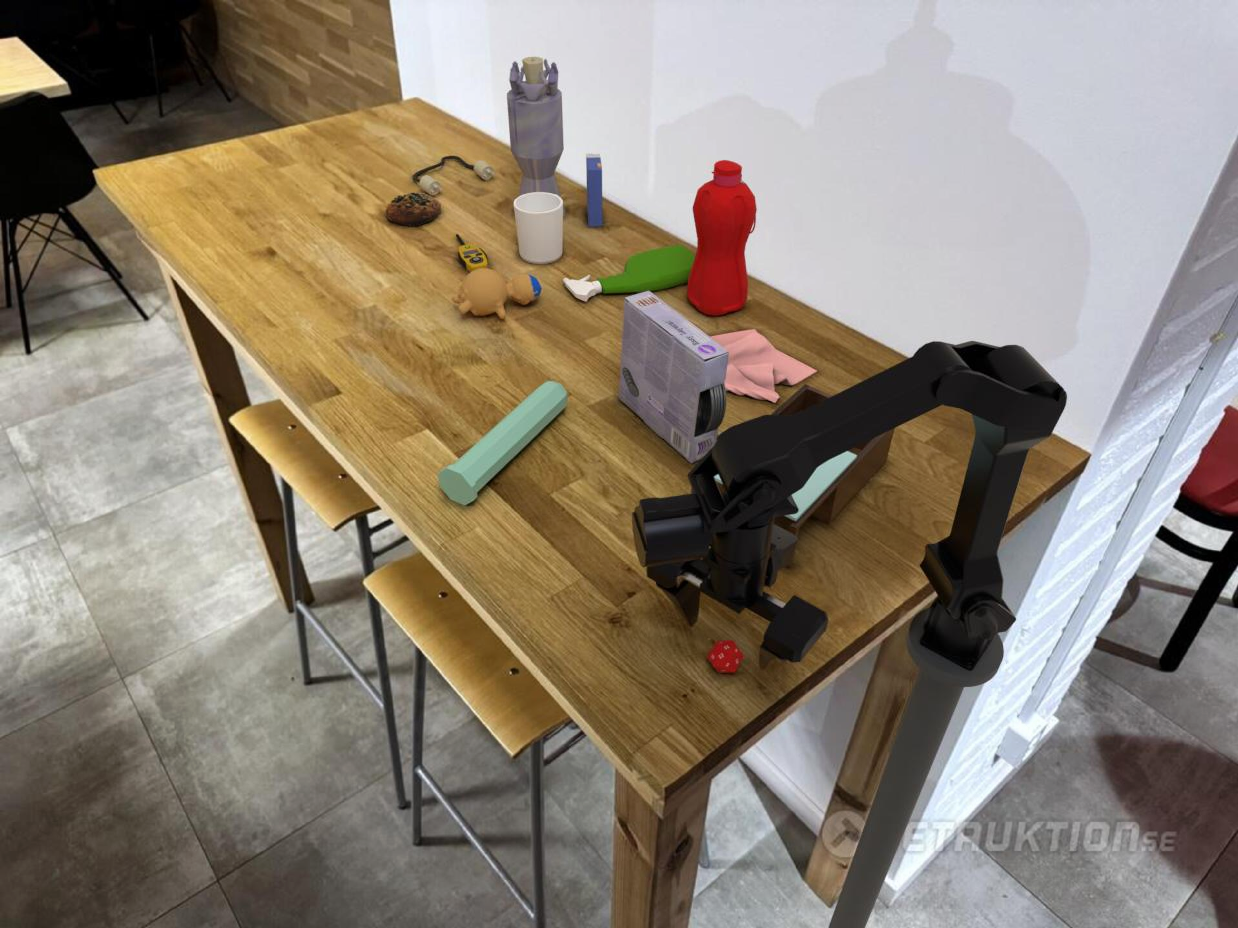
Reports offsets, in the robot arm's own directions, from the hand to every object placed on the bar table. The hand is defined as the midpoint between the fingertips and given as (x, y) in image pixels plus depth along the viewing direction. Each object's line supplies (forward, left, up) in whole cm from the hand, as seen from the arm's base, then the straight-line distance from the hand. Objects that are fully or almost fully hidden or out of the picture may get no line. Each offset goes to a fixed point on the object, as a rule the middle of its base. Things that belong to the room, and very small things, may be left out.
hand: (727, 645), depth 99 cm
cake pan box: (+30, -30, -4) cm, 43 cm away
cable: (+119, -69, -4) cm, 138 cm away
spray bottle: (+60, -60, -4) cm, 85 cm away
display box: (+9, -30, -3) cm, 31 cm away
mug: (+80, -58, -4) cm, 99 cm away
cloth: (+30, -50, -4) cm, 58 cm away
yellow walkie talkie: (+90, -48, -4) cm, 102 cm away
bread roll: (+111, -53, -4) cm, 123 cm away
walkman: (+82, -75, -4) cm, 111 cm away
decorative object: (+92, -70, -4) cm, 116 cm away
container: (+44, -12, -4) cm, 46 cm away
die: (0, 0, -4) cm, 4 cm away
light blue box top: (+9, -25, +4) cm, 27 cm away
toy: (+72, -38, -4) cm, 81 cm away
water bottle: (+44, -64, -4) cm, 78 cm away
